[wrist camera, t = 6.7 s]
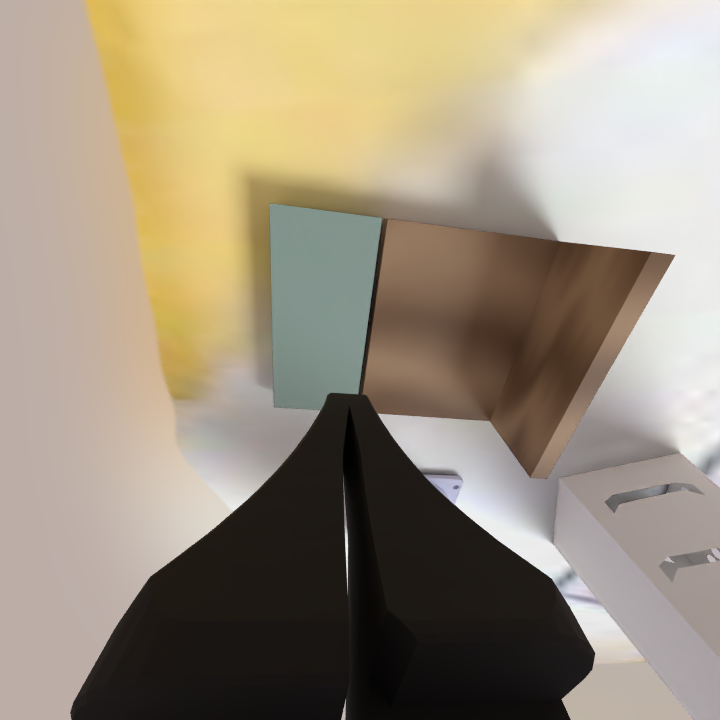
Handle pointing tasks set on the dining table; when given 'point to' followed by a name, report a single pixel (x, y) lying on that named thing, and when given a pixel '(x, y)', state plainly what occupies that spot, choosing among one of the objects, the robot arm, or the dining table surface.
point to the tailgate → (319, 301)
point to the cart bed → (500, 329)
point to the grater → (653, 567)
